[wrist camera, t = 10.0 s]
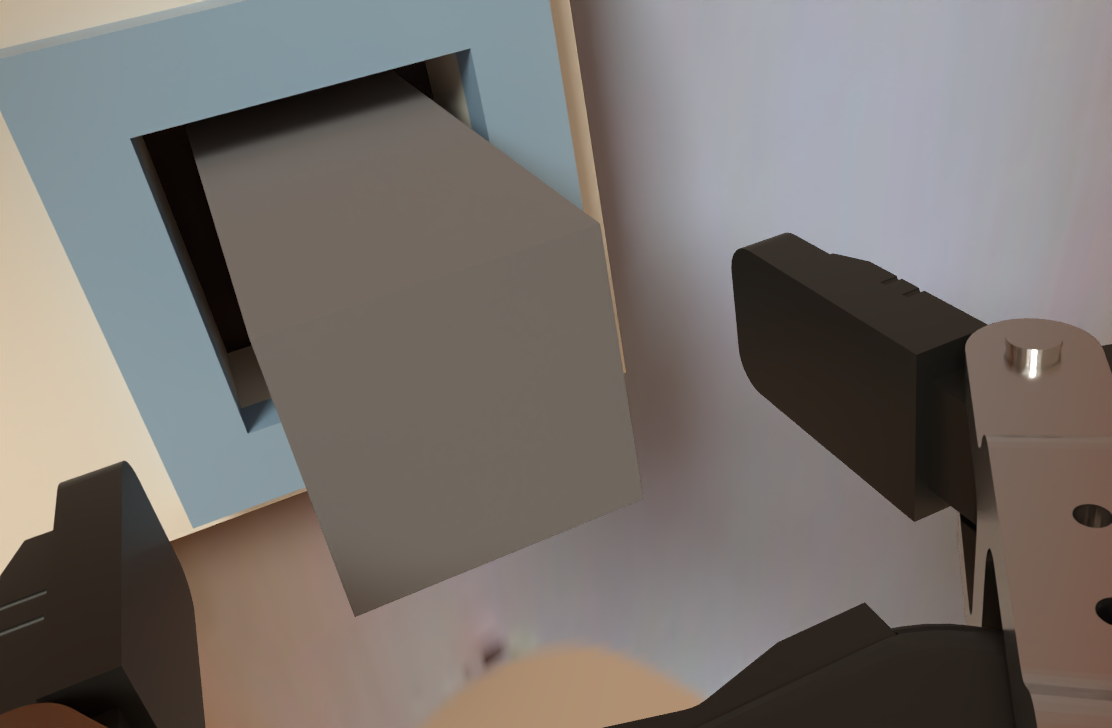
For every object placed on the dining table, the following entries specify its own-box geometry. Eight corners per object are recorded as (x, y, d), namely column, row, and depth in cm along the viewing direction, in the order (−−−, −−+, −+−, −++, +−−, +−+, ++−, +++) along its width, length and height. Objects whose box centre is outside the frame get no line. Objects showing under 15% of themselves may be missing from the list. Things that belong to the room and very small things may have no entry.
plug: (388, 68, 19) (600, 223, 11) (435, 252, 21) (643, 499, 13) (184, 123, 18) (249, 338, 10) (253, 310, 20) (354, 616, 12)
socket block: (500, -132, 19) (573, -130, 16) (580, 328, 24) (647, 393, 21) (-945, 182, 13) (-1237, 273, 10) (-441, 686, 18) (-542, 842, 15)
